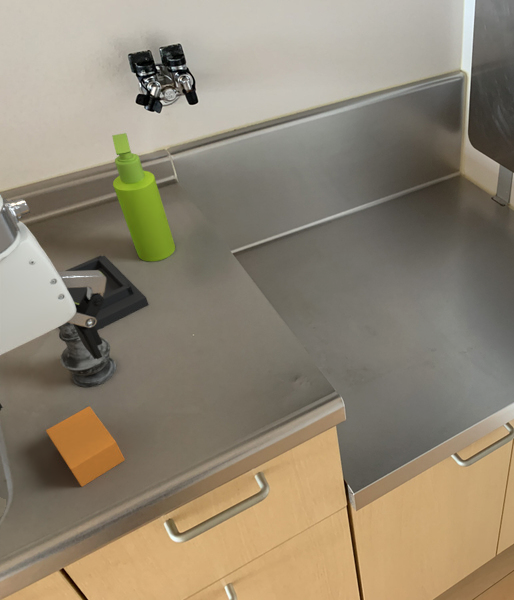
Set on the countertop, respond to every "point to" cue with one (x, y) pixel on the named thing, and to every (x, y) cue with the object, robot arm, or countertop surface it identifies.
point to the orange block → (85, 445)
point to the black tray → (110, 292)
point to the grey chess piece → (85, 359)
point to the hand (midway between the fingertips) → (46, 376)
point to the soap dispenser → (141, 204)
